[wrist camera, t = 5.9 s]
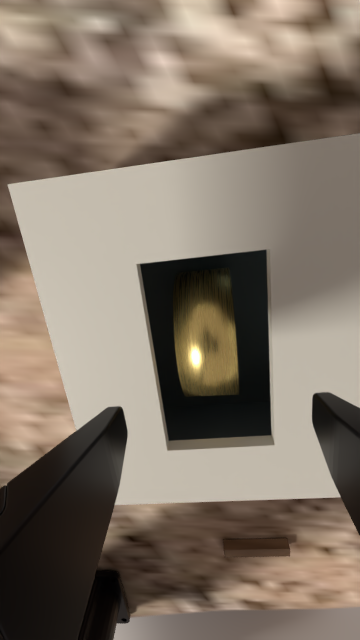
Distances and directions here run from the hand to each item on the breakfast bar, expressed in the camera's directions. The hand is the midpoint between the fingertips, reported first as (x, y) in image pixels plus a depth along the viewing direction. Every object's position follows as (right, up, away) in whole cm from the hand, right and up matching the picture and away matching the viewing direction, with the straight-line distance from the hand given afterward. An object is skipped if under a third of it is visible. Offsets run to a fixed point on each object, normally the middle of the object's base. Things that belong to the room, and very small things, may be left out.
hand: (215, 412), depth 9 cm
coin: (+1, +3, +9) cm, 9 cm away
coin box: (+1, +3, +9) cm, 10 cm away
